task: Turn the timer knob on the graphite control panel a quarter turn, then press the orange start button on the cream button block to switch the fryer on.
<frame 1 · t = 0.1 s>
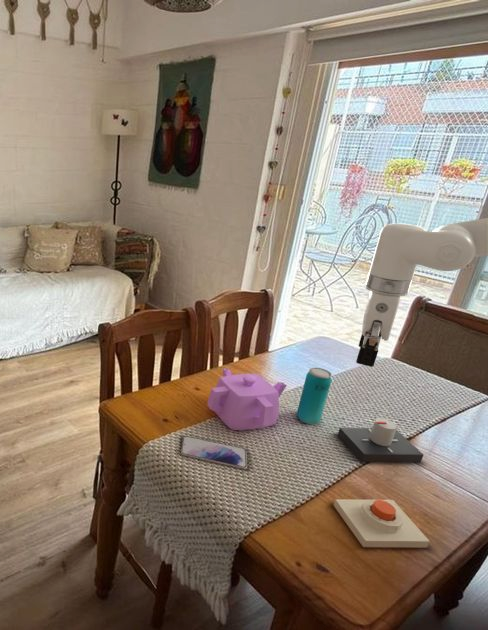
hand: (365, 356, 99), 26 cm above the table, tool pointing down, fingers open, 9 cm apart
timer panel: (376, 450, 108), on the table
beverage can: (307, 421, 119), on the table
start button: (383, 510, 85), point 5 cm above the table, slide at 0.1 cm
teakettle: (242, 416, 121), on the table
smartphone: (213, 454, 106), on the table
timer knob: (383, 431, 106), point 6 cm above the table, hinge at 0.0°
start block: (376, 527, 87), on the table
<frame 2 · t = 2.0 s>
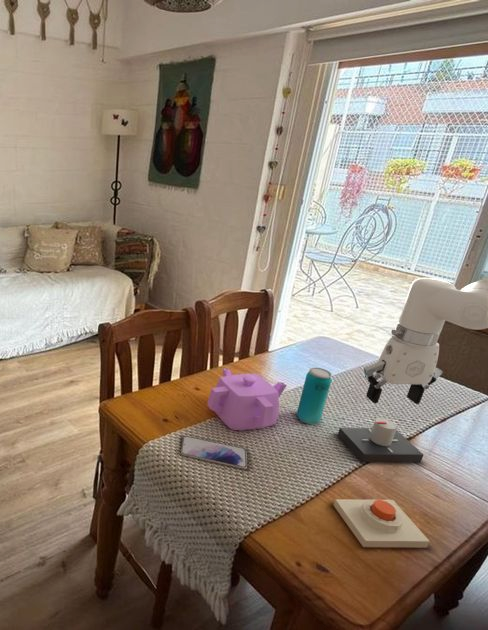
hand: (392, 400, 103), 14 cm above the table, tool pointing down, fingers open, 9 cm apart
nothing on the table moved.
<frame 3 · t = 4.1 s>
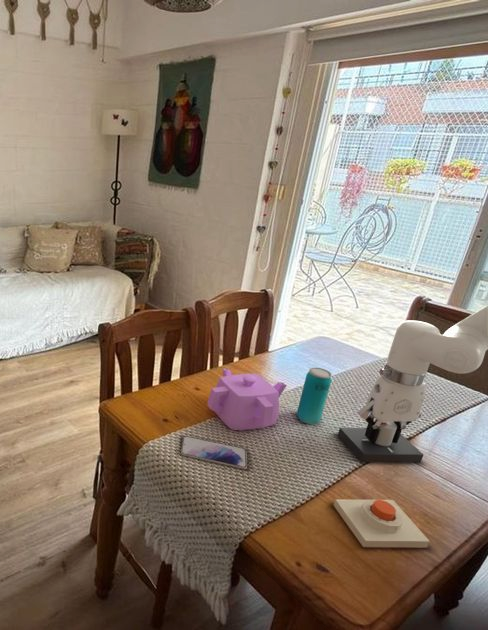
hand: (380, 438, 107), 4 cm above the table, tool pointing down, fingers closed on timer knob, 4 cm apart
timer knob: (383, 431, 106), point 6 cm above the table, hinge at 0.1°, touching gripper
everything else where it was.
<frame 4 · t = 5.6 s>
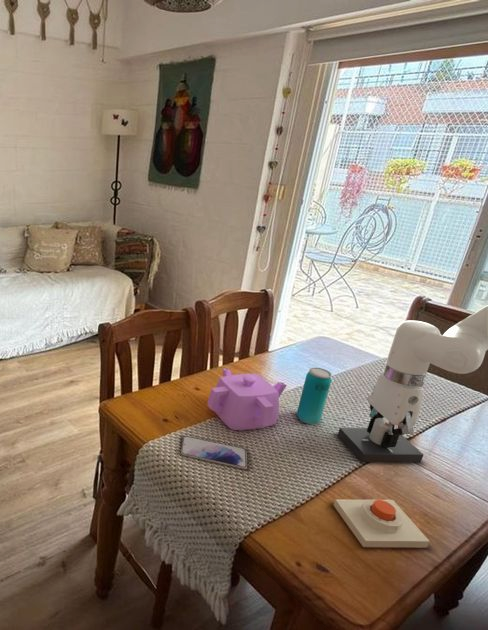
hand: (380, 438, 107), 4 cm above the table, tool pointing down, fingers closed on timer knob, 4 cm apart
timer knob: (383, 431, 106), point 6 cm above the table, hinge at 90.3°, touching gripper
everything else where it was.
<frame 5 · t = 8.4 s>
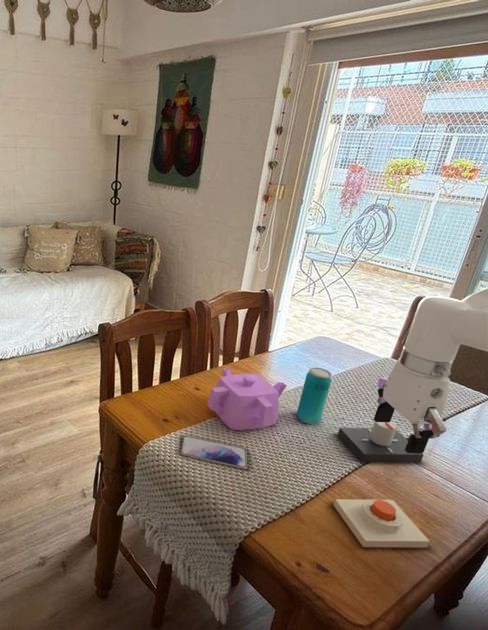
hand: (396, 436, 89), 15 cm above the table, tool pointing down, fingers open, 9 cm apart
timer knob: (383, 431, 106), point 6 cm above the table, hinge at 89.4°
everything else where it was.
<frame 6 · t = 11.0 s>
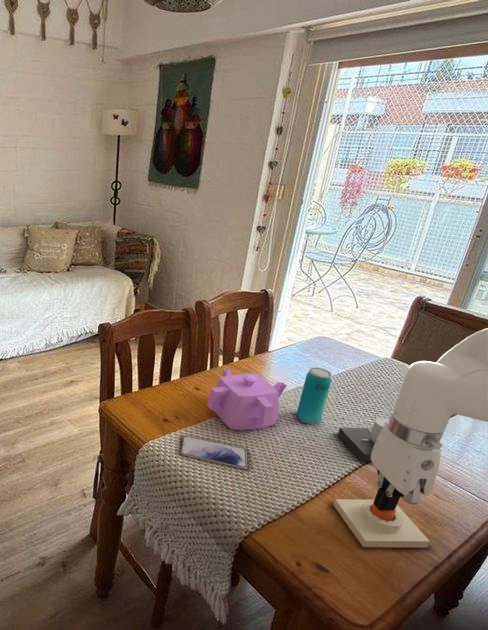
hand: (383, 506, 85), 5 cm above the table, tool pointing down, fingers closed
start button: (383, 510, 85), point 4 cm above the table, slide at 0.0 cm, touching gripper
everything else where it was.
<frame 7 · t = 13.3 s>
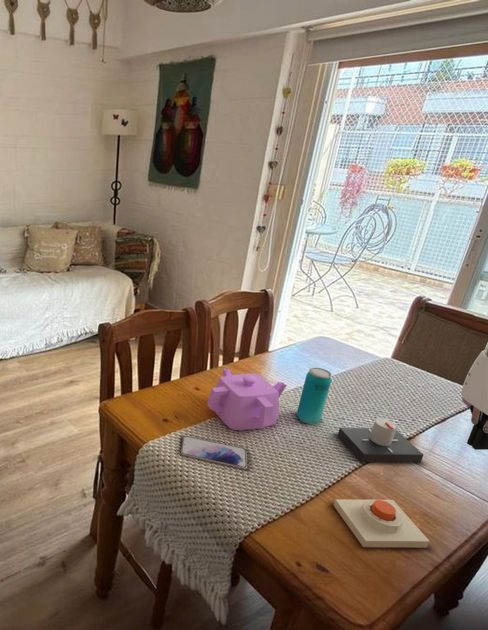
hand: (479, 446, 77), 21 cm above the table, tool pointing down, fingers closed
start button: (383, 510, 85), point 5 cm above the table, slide at 0.1 cm
everything else where it was.
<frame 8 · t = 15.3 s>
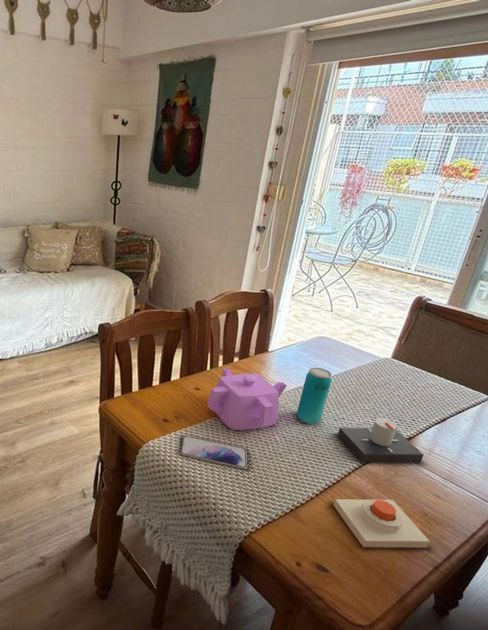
nothing on the table moved.
at the end: timer knob at +89° (first picture: +0°); start button pushed in 1.1 cm at the most during the clip, back to where it started at the end; start button slide at 0.1 cm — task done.
